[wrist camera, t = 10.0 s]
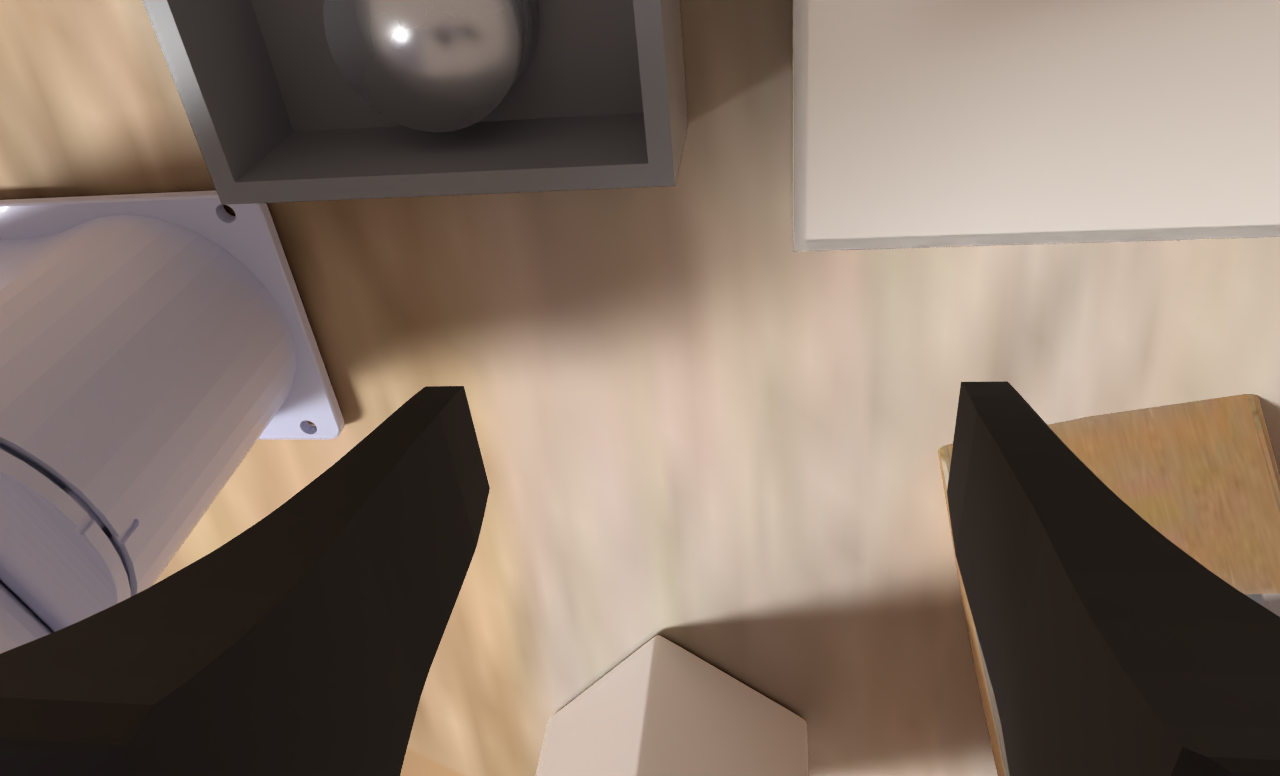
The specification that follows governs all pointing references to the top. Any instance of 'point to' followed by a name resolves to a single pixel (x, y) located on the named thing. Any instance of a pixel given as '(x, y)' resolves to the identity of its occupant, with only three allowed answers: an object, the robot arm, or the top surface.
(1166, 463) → the sandwich container
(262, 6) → the tub
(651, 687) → the milk carton
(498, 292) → the top surface
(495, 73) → the domed metal puck
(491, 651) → the top surface
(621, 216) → the top surface
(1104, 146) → the lid
